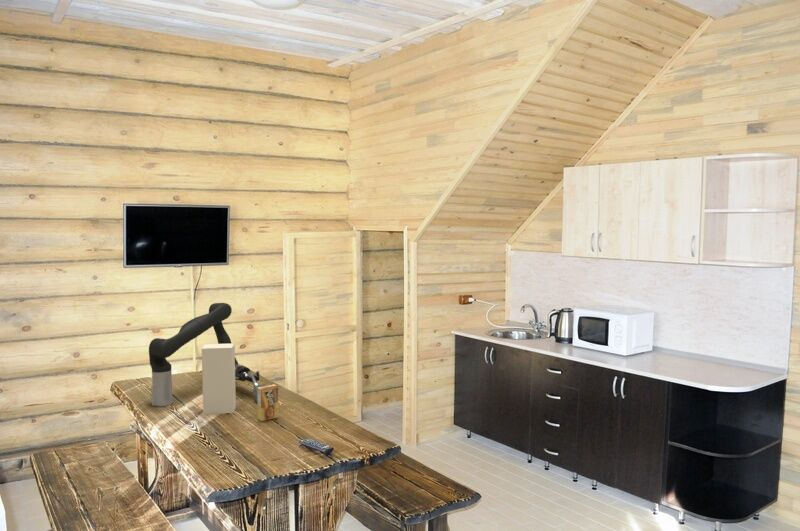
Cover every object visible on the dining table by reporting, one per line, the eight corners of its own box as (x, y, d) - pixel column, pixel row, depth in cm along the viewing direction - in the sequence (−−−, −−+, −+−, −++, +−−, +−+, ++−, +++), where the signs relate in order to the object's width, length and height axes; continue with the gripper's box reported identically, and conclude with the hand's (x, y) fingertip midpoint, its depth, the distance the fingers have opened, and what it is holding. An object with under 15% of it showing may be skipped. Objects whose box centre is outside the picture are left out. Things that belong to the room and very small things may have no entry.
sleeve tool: (257, 402, 318) (259, 395, 316) (243, 376, 330) (245, 369, 328) (268, 400, 322) (270, 393, 319) (254, 375, 334) (256, 368, 331)
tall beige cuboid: (203, 414, 302) (201, 348, 299) (206, 408, 312) (205, 344, 309) (233, 413, 304) (231, 347, 301) (235, 406, 314) (234, 343, 311)
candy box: (274, 415, 301) (273, 383, 299) (278, 417, 297) (278, 385, 296) (257, 419, 295) (256, 387, 294) (261, 421, 292) (261, 389, 290)
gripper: (228, 367, 335) (242, 374, 322) (253, 363, 344) (267, 370, 330) (228, 381, 336) (242, 388, 322) (253, 377, 344) (267, 384, 331)
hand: (255, 379), depth 326 cm, fingers open, 3 cm apart
